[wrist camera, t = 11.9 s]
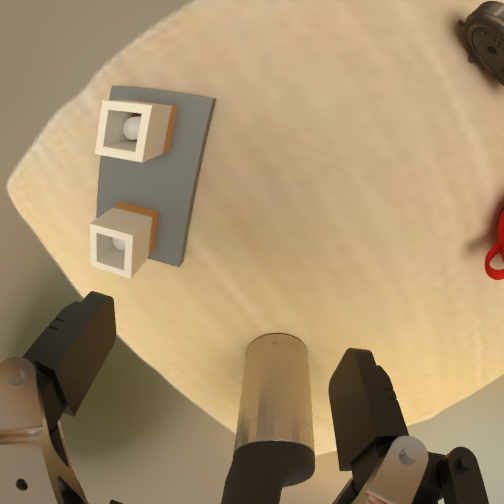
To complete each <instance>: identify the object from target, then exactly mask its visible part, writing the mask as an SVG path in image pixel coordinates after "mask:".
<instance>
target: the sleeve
mask: <svg viewBox="0 0 504 504" xmlns="http://www.w3.org/2000/svg"><path fill="white" fill-rule="evenodd" d="M177 110H178V106H173V105H167V104H160V103H152V102H144V101H130V100H103V102H102V108H101V114H100V120H99V127H98V134H97V142H96V151H95V154H97V155H103V156H109V157H115V158H120V159H126V160H131V161H136V162H141V163H142V162H145V161H147V160H149V159H152V158H154V157H157V156H159V155H162V154H164V153H166V152H169V150H170V144H171V139H172V134H173V129H174V124H175V119H176V115H177ZM140 113H142V115H141V121H140V126H139V132H138V138H137V139H135V140H131V139H128V138H127V137H126V136H125V135H124V132H123V126H124V123H125V122H126V120H127V119H129V118H131V117H140Z"/></svg>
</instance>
